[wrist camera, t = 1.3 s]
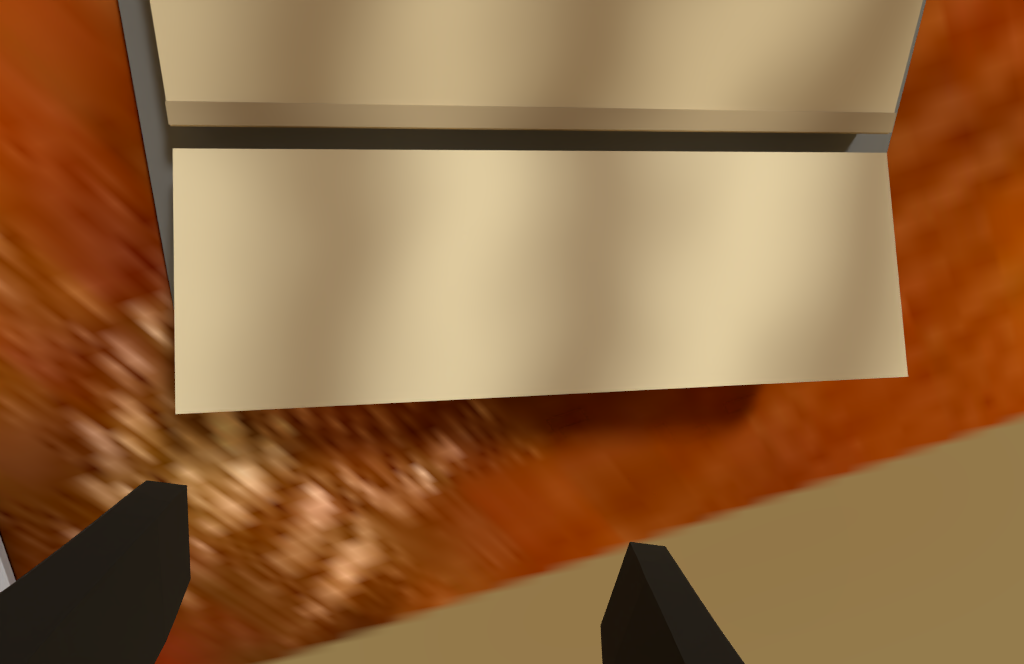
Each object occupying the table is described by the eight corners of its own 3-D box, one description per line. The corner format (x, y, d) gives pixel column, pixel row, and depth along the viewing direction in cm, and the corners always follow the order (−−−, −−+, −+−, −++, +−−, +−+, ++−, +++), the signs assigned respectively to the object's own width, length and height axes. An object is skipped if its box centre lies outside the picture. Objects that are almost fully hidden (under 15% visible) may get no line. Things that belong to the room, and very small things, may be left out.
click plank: (191, 412, 17) (175, 414, 15) (188, 165, 17) (172, 148, 16) (876, 377, 20) (907, 376, 18) (857, 167, 20) (886, 152, 19)
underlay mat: (194, 401, 20) (191, 406, 20) (66, -312, 14) (60, -318, 13) (824, 370, 24) (829, 374, 23) (973, -218, 17) (982, -221, 17)
